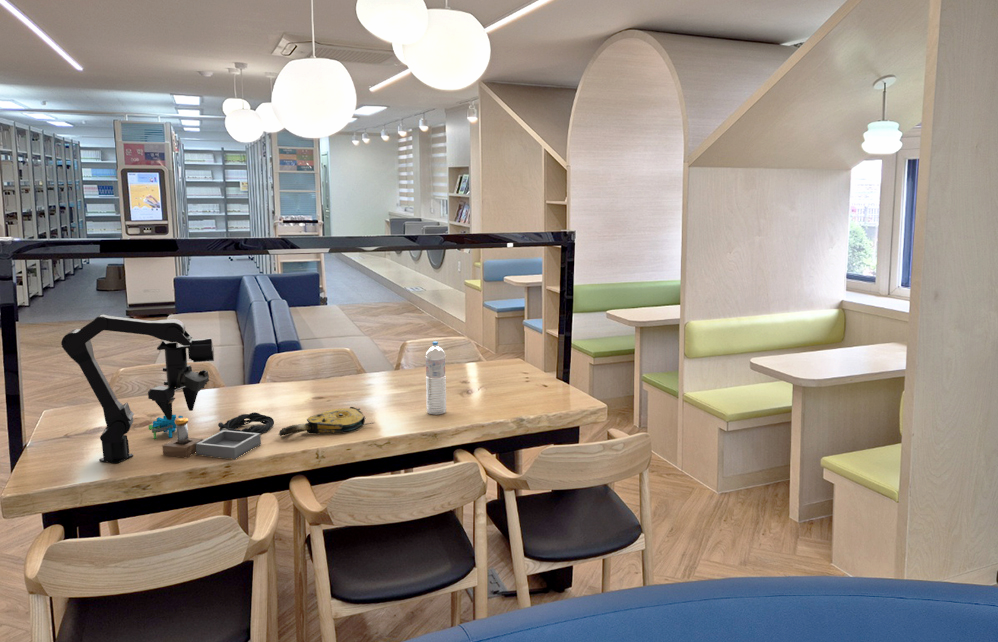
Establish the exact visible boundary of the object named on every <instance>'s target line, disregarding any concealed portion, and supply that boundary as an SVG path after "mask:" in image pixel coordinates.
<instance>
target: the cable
mask: <svg viewBox="0 0 998 642" xmlns="http://www.w3.org/2000/svg"><path fill="white" fill-rule="evenodd" d="M250 423H260V424H263V425H251V426H249V427H244V426H246V425H249V424H250ZM274 425H275V421H274V418H272V417H271V416H269V415H264V414H261V413H259V412H250V413H243V414H240V415H238V416H236V417H232V418H231V419H229V420H227V421H226V422H225V423H224V422H219V423H218V425H217V426H218V427H219V432H220V431H222V430H229V431H239V432H250V433H260V435H262V434H264V433H266V432H268V431H269V430H271V428H273V426H274ZM241 427H244V428H243V429H239V428H241Z"/></svg>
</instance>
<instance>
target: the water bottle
mask: <svg viewBox="0 0 998 642" xmlns="http://www.w3.org/2000/svg"><path fill="white" fill-rule="evenodd" d="M424 356H425V393H426V394H425V395H426V400H425V401H426V403H425V404H426V412H427V414H428V415H433V416H438V415H439V416H440V415H443V414H445V413H446V412H447V387H446V386H447V383H446V382H447V379H446V377H447V376H446V353H445V351H444V350H443V349H442V348H441V347H440V346H439V341H432V346H431V347H429V349H427V351H426V352H425V355H424Z"/></svg>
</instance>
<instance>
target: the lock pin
mask: <svg viewBox="0 0 998 642" xmlns="http://www.w3.org/2000/svg"><path fill="white" fill-rule="evenodd" d="M188 423H189V418H188V417H183V418H176V419H175V424H176V439H177V441H178V444H179V445H185V444H187V443H189V440H188V437H189V429H188Z"/></svg>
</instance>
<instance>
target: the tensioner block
mask: <svg viewBox="0 0 998 642" xmlns="http://www.w3.org/2000/svg"><path fill="white" fill-rule="evenodd" d="M204 439H205V438H198V437H189V436H188V440H189V443H187V444H185V445H179V444H178V441H177V438H175V439H173V440H171V441H169V442H167V443H165V444H163V445H162V456H165V455H168V456H167V457H175V456H179V457H178V458H184V457H187V458H189V457H191V456H192V455H191V454H193V455H195V454H196V453H195V452H196V443H198V442H200V441H202V440H204ZM194 453H195V454H194ZM190 455H191V456H190ZM188 456H189V457H188Z"/></svg>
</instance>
